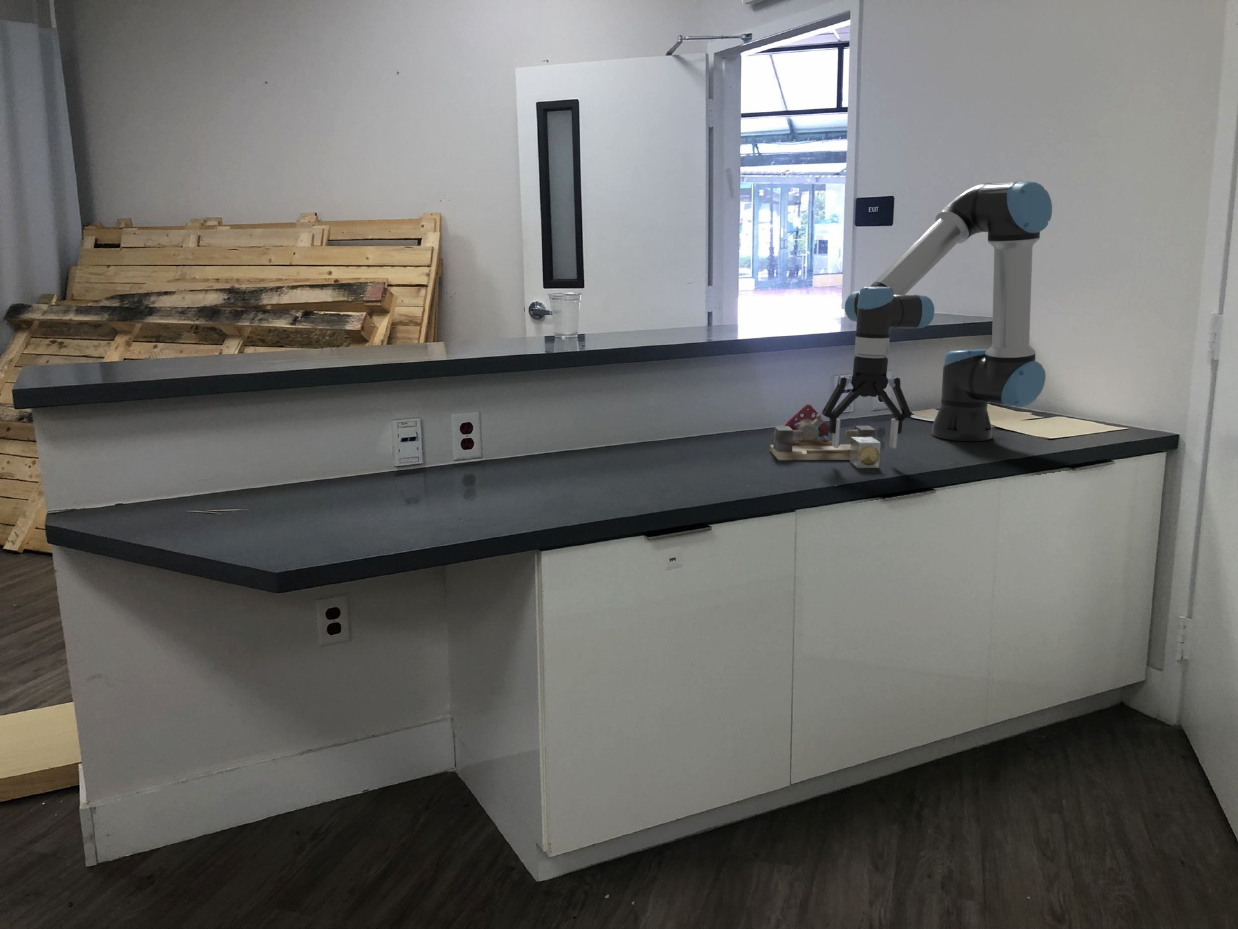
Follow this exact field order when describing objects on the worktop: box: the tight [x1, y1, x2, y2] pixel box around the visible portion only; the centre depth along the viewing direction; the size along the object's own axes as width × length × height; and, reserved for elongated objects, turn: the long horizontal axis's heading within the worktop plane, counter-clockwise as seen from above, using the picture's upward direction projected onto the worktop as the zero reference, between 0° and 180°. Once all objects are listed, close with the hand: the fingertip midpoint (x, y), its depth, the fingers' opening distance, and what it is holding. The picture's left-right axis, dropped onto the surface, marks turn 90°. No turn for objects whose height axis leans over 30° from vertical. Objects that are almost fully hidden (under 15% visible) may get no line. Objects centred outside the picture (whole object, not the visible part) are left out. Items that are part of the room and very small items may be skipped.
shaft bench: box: [769, 425, 876, 461], centre depth 234 cm, size 24×10×7 cm, turn 93°
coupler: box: [849, 437, 882, 469], centre depth 225 cm, size 8×5×6 cm, turn 3°
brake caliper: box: [784, 403, 830, 445], centre depth 242 cm, size 11×11×12 cm
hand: (863, 447), depth 224 cm, fingers open, 13 cm apart
